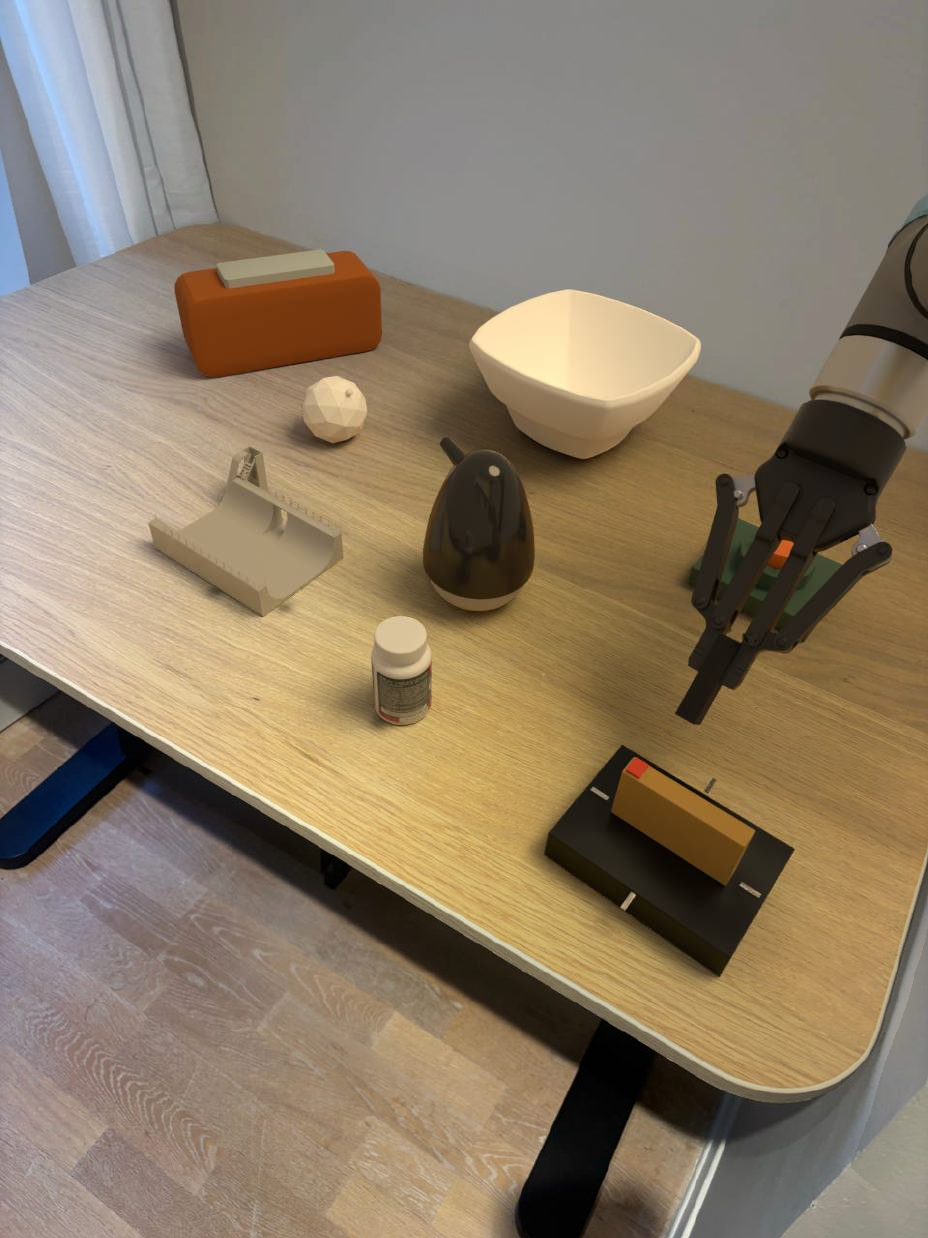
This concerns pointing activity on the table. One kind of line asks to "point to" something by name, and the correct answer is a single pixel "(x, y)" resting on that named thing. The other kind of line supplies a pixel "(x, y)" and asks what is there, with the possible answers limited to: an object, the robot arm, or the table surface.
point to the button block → (769, 576)
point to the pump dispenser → (479, 531)
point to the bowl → (581, 367)
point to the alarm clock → (278, 311)
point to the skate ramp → (252, 541)
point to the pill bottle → (401, 670)
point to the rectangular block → (681, 820)
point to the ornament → (334, 409)
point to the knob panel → (664, 871)
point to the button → (780, 555)
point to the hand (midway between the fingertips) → (687, 719)
